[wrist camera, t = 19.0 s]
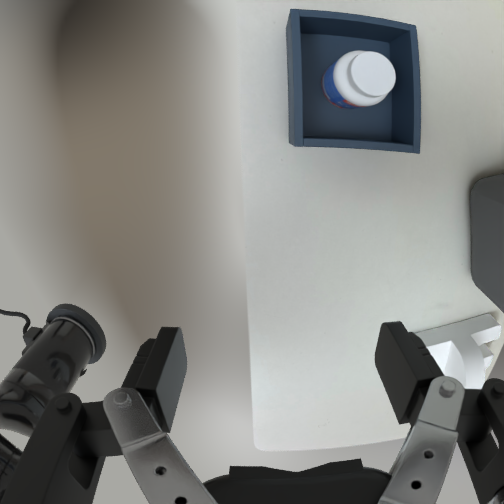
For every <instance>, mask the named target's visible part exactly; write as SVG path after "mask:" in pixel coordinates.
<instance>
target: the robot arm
mask: <svg viewBox="0 0 504 504" xmlns="http://www.w3.org/2000/svg"><path fill="white" fill-rule="evenodd" d="M0 313H1V314H4V315H9V316H19V317H22V318H24V319H25V320H26V324H25V326H24V328H23V334H24V335H23V339H24V341H25V343H26V347H25V349H24V350H23V351H22V357H21V359H20V360H19V361H18V362H17V363H16V365H15V366H14V367H13V368H12V370H11V371H10V372H9V374H8V375H7V376H6V377H5V379H4V380H3V381H2V382H1V384H0V429H7V430H11V431H14V432H17V433H20V434H22V435H25V436H28V437H30V439H29V441H28V443H27V445H26V447H25V449H24V451H21V450H20V449H19V448H16V446H15V445H14V444H12V443H11V442H10V441H9V440H7V439H6V438H5V437H4V436H2V435H1V434H0V504H92V503H93V499H94V495H95V492H96V488H97V484H98V481H99V478H100V474H101V471H102V468H103V464H104V461H105V458H106V456H118V455H124V457H125V459H126V461H127V463H128V465H129V467H130V469H131V471H132V473H133V475H134V477H135V479H136V481H137V483H138V485H139V486H140V488H141V490H142V492H143V493H144V495H145V497H146V499H147V500H148V502H149V504H435V503H436V501H437V498H438V496H439V493H440V491H441V488H442V485H443V483H444V480H445V477H446V474H447V471H448V468H449V465H450V462H451V459H452V456H453V452H454V449H455V446H456V442H457V443H458V445H459V448H460V450H461V453H462V456H463V458H464V461H465V463H466V466H467V469H468V471H469V474H470V477H471V480H472V482H473V485H474V488H475V491H476V494H477V497H478V500H479V503H480V504H504V381H503V380H500V379H497V378H492V379H489V380H487V381H486V382H485V383H484V384H483V386H482V388H481V389H465V388H464V387H463V385H462V384H461V383H460V382H459V381H458V380H457V379H455V378H452V377H449V376H445V375H444V374H443V372H442V370H441V369H440V367H439V366H438V364H437V363H436V361H435V359H434V358H433V356H432V355H430V352H429V350H428V348H426V345H425V344H424V342H423V341H422V339H421V338H420V337H418V336H417V335H416V334H414V333H413V332H408V331H407V330H406V328H405V327H404V325H403V324H402V322H401V321H397V322H385V323H383V324H382V325H381V328H380V333H379V338H378V342H377V347H376V351H375V365H376V368H377V370H378V373H379V375H380V378H381V380H382V382H383V385H384V387H385V390H386V392H387V395H388V397H389V400H390V402H391V405H392V407H393V410H394V412H395V415H396V417H397V420H398V422H399V424H404V423H410V425H411V428H410V430H409V432H408V434H407V437H406V439H405V441H404V443H403V445H402V448H401V450H400V452H399V454H398V456H397V458H396V460H395V462H394V464H393V466H392V468H391V470H390V471H389V473H387V472H384V471H382V470H378V469H374V468H369V467H363V465H362V461H361V459H354V460H347V461H339V462H330V463H327V464H324V465H321V466H318V467H314V468H311V469H307V470H304V471H300V472H292V471H285V470H279V469H273V468H268V467H262V466H259V467H257V466H256V467H255V466H253V467H252V466H250V467H249V466H248V467H247V466H230V471H229V474H228V475H223V476H219V477H216V478H213V479H211V480H208V481H206V482H204V483H201V481H200V480H199V479H198V477H197V476H196V475H195V473H194V472H193V470H192V469H191V468H190V466H189V465H188V464H187V462H186V461H185V459H184V458H183V456H182V455H181V454H180V452H179V451H178V449H177V448H176V446H175V445H174V443H173V442H172V440H171V439H170V437H169V436H168V434H167V433H170V431H171V427H172V423H173V419H174V416H175V412H176V408H177V404H178V400H179V397H180V393H181V389H182V386H183V382H184V378H185V375H186V370H187V357H186V352H185V347H184V340H183V334H182V330H181V328H180V327H161V329H160V331H159V333H158V336H157V338H156V339H151V338H150V339H148V340H147V341H146V342H145V343H144V344H142V345H141V347H140V349H139V351H138V353H137V356H136V357H135V359H134V361H133V364H132V365H131V367H130V369H129V371H128V373H127V376H126V378H125V380H124V382H123V384H122V386H121V388H118V389H115V390H113V391H111V392H110V393H108V394H107V395H106V397H105V398H104V400H103V401H100V402H89V403H82V402H81V400H80V398H79V397H78V396H77V395H75V394H73V393H70V391H71V390H72V388H73V386H74V385H75V383H76V381H77V380H78V378H79V377H80V376H82V375H84V374H85V372H86V370H87V369H86V370H84V369H85V367H86V365H87V364H88V362H89V360H90V359H91V358H92V357H93V355H94V354H95V351H96V343H95V340H94V338H93V336H92V334H91V333H90V331H89V330H88V329H87V328H86V327H85V326H84V325H83V324H82V323H81V322H80V321H78V320H77V319H75V318H73V317H70V316H66V315H60V316H57V317H56V318H54V320H53V321H48V323H47V324H46V325H45V326H44V327H43V328H37V327H31V328H30V329H29V330H28V331H27V329H28V327H29V326H30V319H29V318H28V317H27V315H25V314H23V313H20V312H10V311H4V310H1V309H0ZM83 370H84V371H83ZM491 430H493V432H494V434H495V436H496V438H497V440H498V443H499V449H498V447H497V445H496V443H495V441H494V439H493V437H492V435H491Z"/></svg>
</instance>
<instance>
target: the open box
mask: <svg viewBox="0 0 504 504" xmlns="http://www.w3.org/2000/svg"><path fill="white" fill-rule="evenodd" d="M286 40H287V68H288V108H289V143H290V144H292V145H293V146H298V147H303V146H304V147H335V148H356V149H371V150H385V151H396V152H407V153H416V154H420V135H421V90H420V66H419V51H418V40H417V30H416V26H415V25H411V24H407V23H402V22H397V21H392V20H387V19H382V18H376V17H370V16H363V15H356V14H349V13H340V12H330V11H318V10H302V9H300V10H299V9H290V14H289V18H288V23H287V27H286ZM352 51H366V52H367V51H372V52H377V53H379V54H381V55H383V56H385V57H386V58H387V59H388V60H389V61H390V62H391V64H392V65H393V68H394V70H395V74H396V80H395V84H394V87H393V88H392V90H391V91H390V92H389V93H388V94H387V96H386V97H385V98H384V99H383V100H382V101H381V102H379V103H377V104H375V105H371V106H366V107H359V108H353V109H343V108H339V107H337V106H335V105H333V104H332V103H330V102H329V101H328V100H327V99H326V97H325V96H324V94H323V91H322V88H321V80H322V76H323V74H324V72H325V71H326V69H327V68H328V67H329V66H331V65H332V64H333V63H335V62H336V61H337V60H338V59H339V58H341V57H342V56H343V55H345V54H347V53H349V52H352Z"/></svg>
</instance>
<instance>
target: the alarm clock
mask: <svg viewBox="0 0 504 504" xmlns="http://www.w3.org/2000/svg"><path fill="white" fill-rule="evenodd" d="M470 208H471V236H472V257H471V274H472V279H473V281H474V283H475V285H476V286H477V287H478V288H479V289H480V290H481V291H482V292H483V293H484V294H485V295H486V296H487V297H488V298H489V299H490V300H491V301H492V302H493V303H494V304H495V305H496V306H497V307H498V308H499V309H500V310H501V311H502V312H503V313H504V174H500V175H495V176H491V177H487V178H482V179H481V180H479V181H477V182H476V184H475V185H474V187H473V189H472V191H471V197H470Z"/></svg>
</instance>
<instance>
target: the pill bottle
mask: <svg viewBox="0 0 504 504" xmlns="http://www.w3.org/2000/svg"><path fill="white" fill-rule="evenodd" d="M395 80H396V74H395V70H394V68H393V65H392V64H391V62H390V61H389V60H388V59H387V58H386V57H385V56H383V55H381V54H379V53H377V52H372V51H367V52H366V51H352V52H349V53H347V54H345V55H343V56H342V57H341V58H339V59H338V60H337V61H336V62H335V63H333V64H332V65H331V66H329V67H328V68H327V69H326V71H325V72H324V74H323V76H322V80H321V88H322V91H323V94H324V96H325V97H326V99H327V100H328V101H329V102H330V103H332V104H333V105H335V106H337V107H339V108H343V109H353V108H359V107H366V106H371V105H375V104H377V103H379V102H381V101H382V100H383V99H384V98H385V97H386V96H387V94H388V93H389V92H390V91H391V90H392V88H393V87H394V84H395Z"/></svg>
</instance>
